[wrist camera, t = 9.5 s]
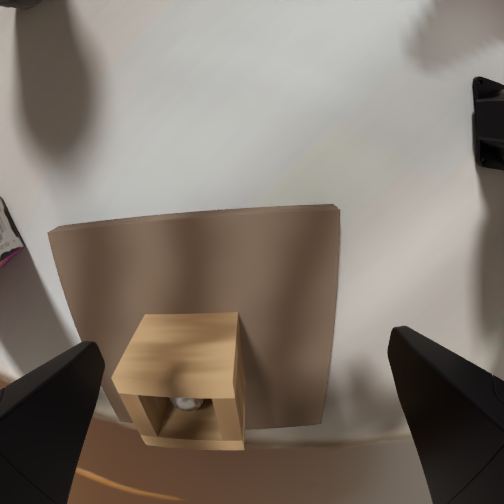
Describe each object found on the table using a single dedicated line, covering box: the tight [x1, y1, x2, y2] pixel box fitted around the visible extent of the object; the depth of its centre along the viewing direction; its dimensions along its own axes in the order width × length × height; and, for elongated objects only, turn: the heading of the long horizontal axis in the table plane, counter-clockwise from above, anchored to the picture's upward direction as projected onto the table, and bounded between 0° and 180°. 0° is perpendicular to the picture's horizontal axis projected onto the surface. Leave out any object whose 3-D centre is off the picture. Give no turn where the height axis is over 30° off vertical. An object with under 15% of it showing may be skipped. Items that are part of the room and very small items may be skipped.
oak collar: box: [111, 312, 246, 450], centre depth 17 cm, size 6×6×6 cm
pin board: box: [48, 204, 340, 429], centre depth 18 cm, size 18×18×6 cm
